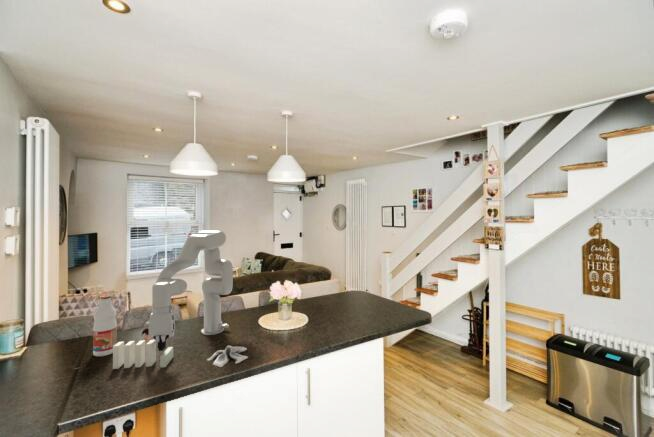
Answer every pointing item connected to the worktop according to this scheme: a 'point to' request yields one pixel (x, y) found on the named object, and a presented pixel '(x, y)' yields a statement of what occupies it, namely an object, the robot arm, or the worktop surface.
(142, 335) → the grandmother figurine
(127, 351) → the domino
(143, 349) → the domino
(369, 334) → the worktop surface
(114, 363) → the domino
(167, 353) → the domino
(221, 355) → the cloth
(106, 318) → the fruit juice
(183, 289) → the robot arm
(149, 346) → the domino
